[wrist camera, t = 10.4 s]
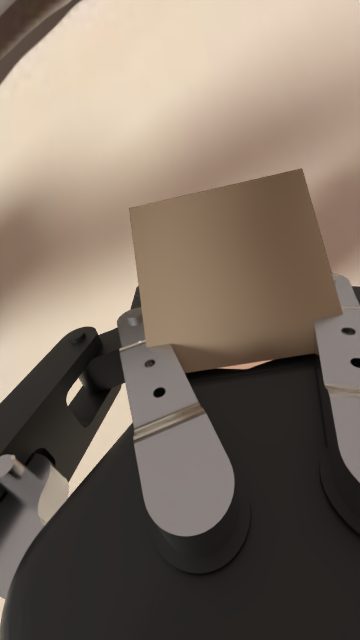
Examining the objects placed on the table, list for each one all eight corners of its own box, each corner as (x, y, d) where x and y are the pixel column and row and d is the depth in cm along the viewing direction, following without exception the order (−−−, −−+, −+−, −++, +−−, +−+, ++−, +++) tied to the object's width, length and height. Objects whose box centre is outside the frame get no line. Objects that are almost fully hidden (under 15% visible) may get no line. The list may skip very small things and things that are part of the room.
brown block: (192, 371, 16) (150, 378, 6) (180, 300, 17) (128, 208, 7) (267, 359, 15) (352, 347, 6) (251, 287, 16) (302, 168, 6)
